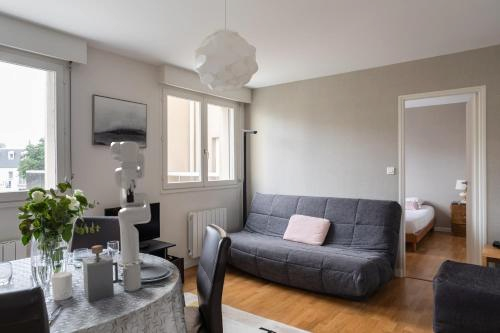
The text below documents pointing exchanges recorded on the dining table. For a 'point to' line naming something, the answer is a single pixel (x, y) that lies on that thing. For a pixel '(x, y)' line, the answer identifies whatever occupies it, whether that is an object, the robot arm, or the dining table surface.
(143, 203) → the robot arm
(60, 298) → the white cup
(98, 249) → the plunger
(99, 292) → the press carafe
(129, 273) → the can
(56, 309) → the dining table surface
